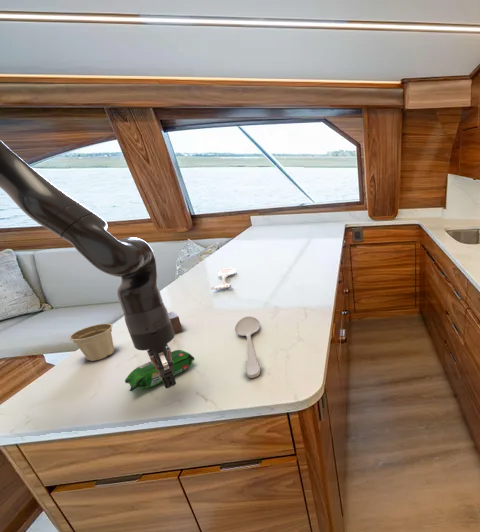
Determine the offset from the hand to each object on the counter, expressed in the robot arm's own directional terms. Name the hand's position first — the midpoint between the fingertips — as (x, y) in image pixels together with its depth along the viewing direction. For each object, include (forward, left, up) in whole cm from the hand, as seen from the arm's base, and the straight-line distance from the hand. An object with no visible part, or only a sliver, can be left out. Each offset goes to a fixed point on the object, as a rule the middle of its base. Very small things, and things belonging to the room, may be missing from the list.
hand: (170, 385), depth 74 cm
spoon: (+22, +8, -4) cm, 24 cm away
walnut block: (+7, +39, -4) cm, 40 cm away
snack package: (0, +11, -4) cm, 12 cm away
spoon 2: (+38, +77, -4) cm, 86 cm away
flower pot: (-11, +39, -4) cm, 41 cm away
